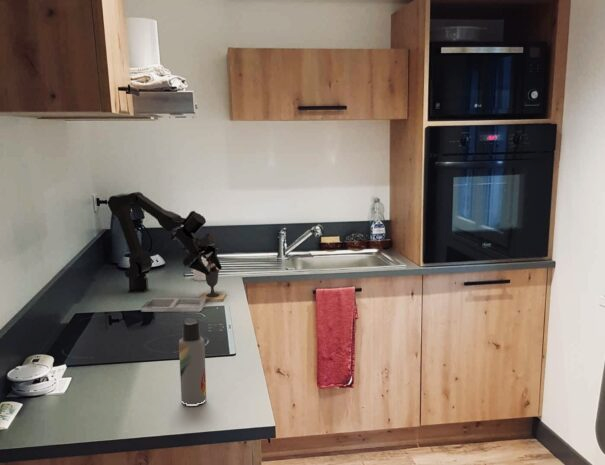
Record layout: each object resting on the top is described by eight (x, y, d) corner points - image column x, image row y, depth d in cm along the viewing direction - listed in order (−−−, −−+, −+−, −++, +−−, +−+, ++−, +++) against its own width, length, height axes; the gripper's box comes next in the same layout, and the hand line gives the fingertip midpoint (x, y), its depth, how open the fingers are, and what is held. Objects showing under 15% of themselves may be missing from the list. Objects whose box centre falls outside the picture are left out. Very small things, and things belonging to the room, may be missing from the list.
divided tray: (141, 311, 193) (141, 307, 193) (150, 302, 204) (150, 298, 204) (200, 311, 193) (200, 307, 193) (206, 302, 204) (206, 298, 204)
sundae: (207, 292, 213) (205, 255, 211) (223, 293, 212) (222, 255, 209) (201, 297, 207) (199, 258, 204) (218, 298, 206) (216, 259, 203)
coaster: (198, 301, 205) (198, 299, 205) (203, 294, 214) (203, 292, 214) (222, 301, 205) (222, 299, 205) (226, 294, 214) (226, 292, 213)
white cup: (212, 276, 241) (212, 254, 240) (207, 281, 234) (207, 258, 232) (195, 276, 242) (194, 254, 240) (190, 281, 234) (189, 258, 233)
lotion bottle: (208, 395, 130) (205, 315, 127) (204, 407, 125) (201, 323, 121) (183, 396, 130) (180, 315, 127) (179, 407, 124) (175, 323, 121)
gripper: (188, 231, 197) (216, 263, 195) (213, 223, 215) (239, 253, 213) (170, 251, 201) (197, 282, 199) (196, 242, 219) (222, 271, 217)
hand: (215, 271), depth 207 cm, fingers open, 9 cm apart
